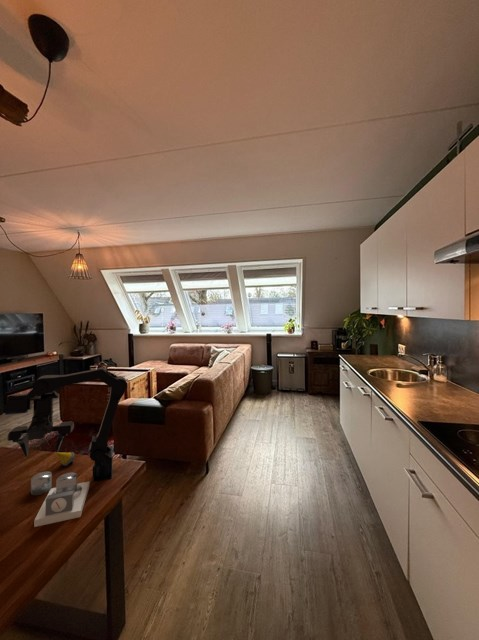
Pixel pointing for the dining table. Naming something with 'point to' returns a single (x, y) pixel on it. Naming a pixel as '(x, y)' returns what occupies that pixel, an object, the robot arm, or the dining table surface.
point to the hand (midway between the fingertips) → (42, 453)
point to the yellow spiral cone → (65, 457)
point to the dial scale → (62, 505)
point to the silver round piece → (66, 483)
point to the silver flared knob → (41, 483)
